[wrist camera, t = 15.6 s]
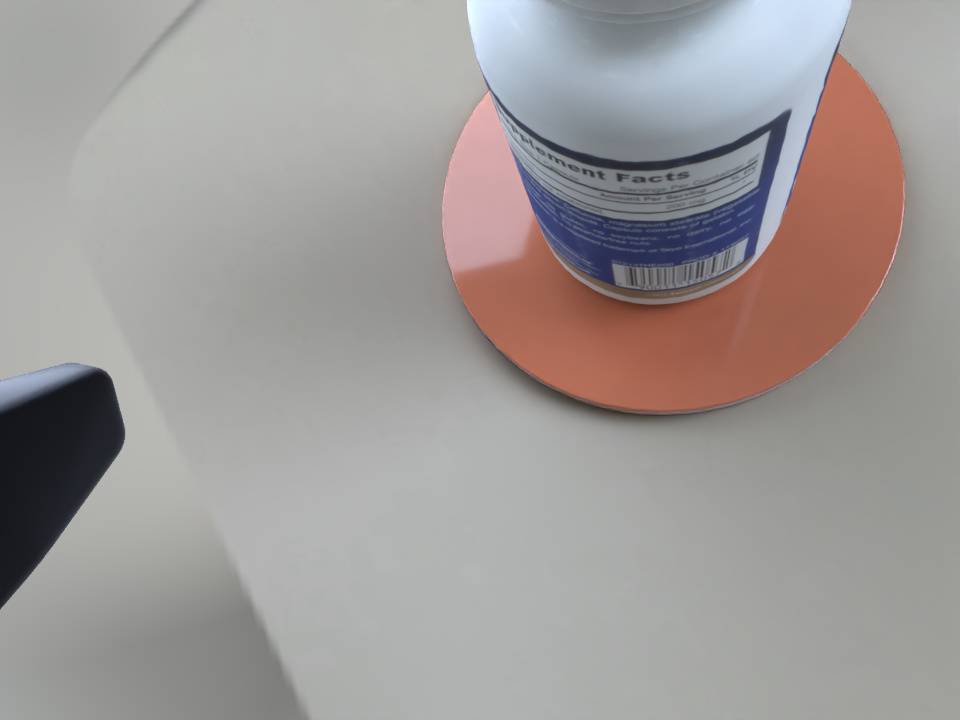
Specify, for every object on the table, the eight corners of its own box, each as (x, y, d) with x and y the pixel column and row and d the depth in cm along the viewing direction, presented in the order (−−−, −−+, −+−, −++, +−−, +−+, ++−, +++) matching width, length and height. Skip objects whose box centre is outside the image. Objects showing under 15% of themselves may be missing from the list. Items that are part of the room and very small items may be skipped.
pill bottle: (624, 54, 19) (584, -452, 10) (835, 156, 17) (1033, -345, 8) (490, 235, 18) (314, -115, 9) (693, 359, 16) (726, 77, 7)
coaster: (536, 487, 17) (533, 485, 17) (392, 120, 20) (387, 111, 20) (998, 299, 16) (1006, 292, 15) (766, -56, 19) (768, -69, 19)
